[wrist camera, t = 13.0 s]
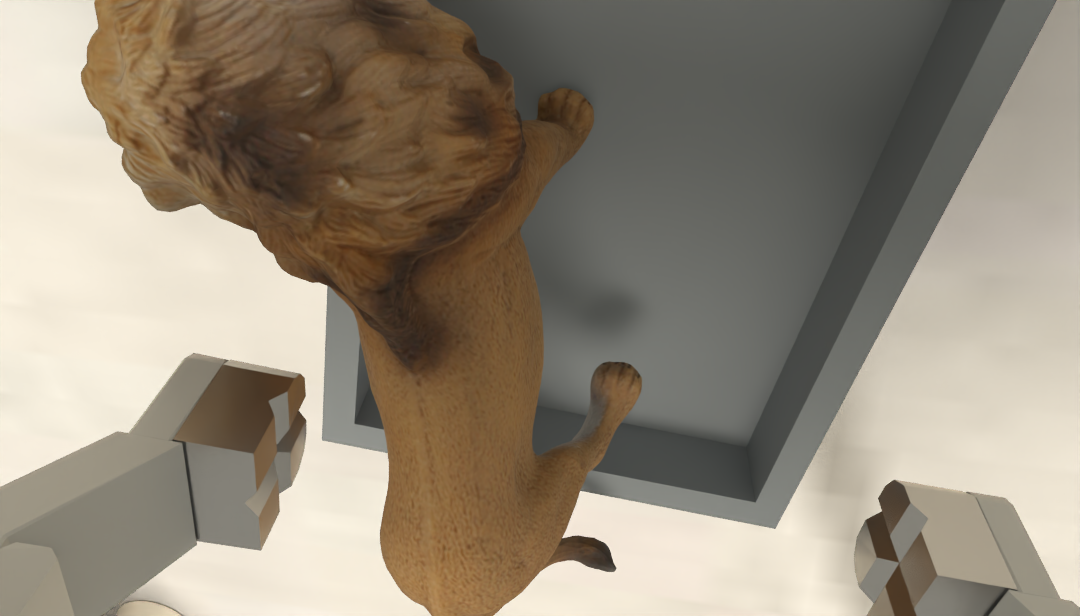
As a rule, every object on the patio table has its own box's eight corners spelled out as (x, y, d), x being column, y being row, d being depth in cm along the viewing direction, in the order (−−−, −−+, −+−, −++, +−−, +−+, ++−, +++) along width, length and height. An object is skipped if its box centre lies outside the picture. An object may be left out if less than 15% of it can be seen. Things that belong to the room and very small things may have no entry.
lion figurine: (326, -8, 18) (-87, -7, 10) (546, -100, 16) (245, -197, 8) (527, 561, 21) (345, 895, 13) (728, 548, 19) (651, 937, 11)
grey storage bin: (978, -194, 18) (1144, -166, 12) (744, 362, 27) (775, 528, 21) (441, -314, 17) (349, -344, 12) (388, 290, 27) (321, 440, 21)
